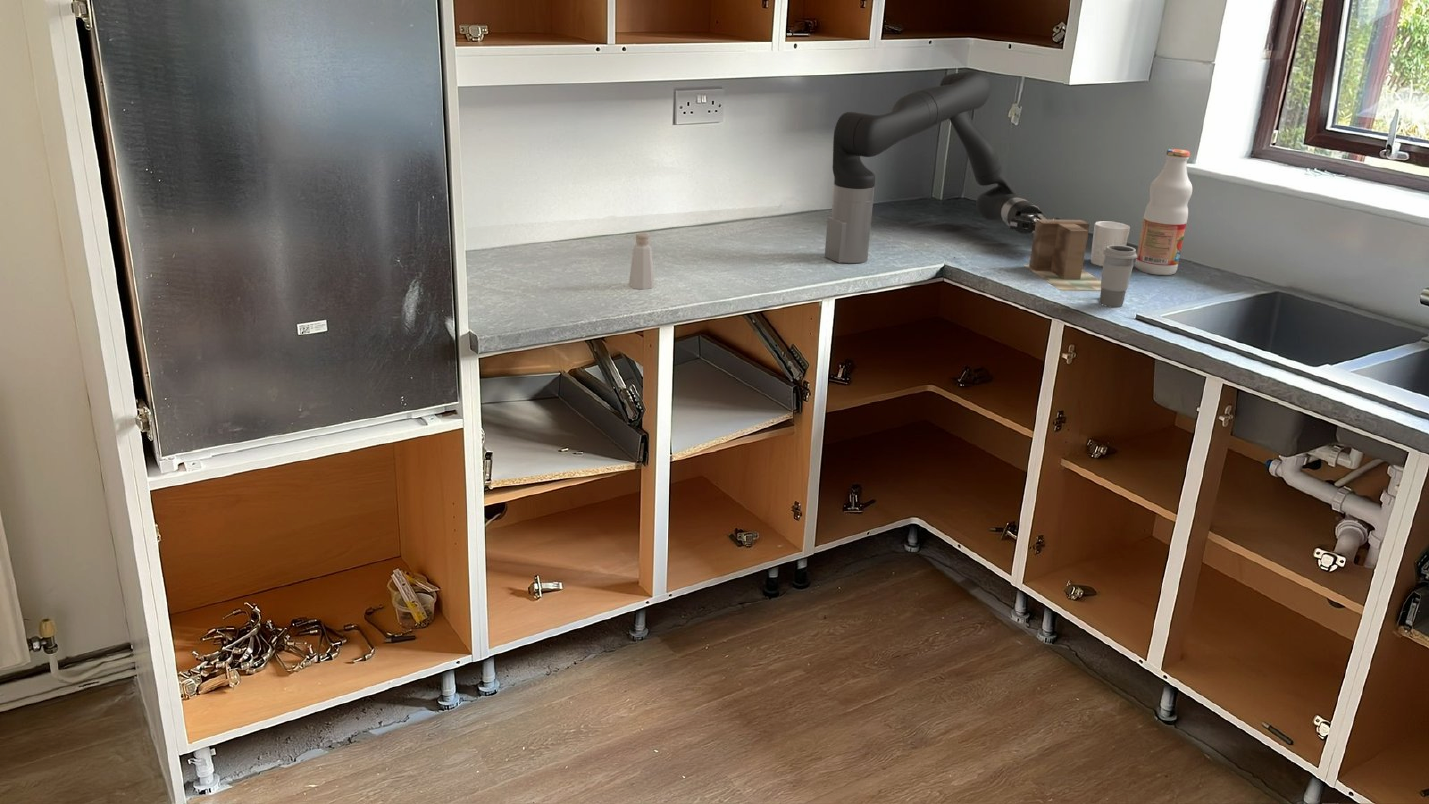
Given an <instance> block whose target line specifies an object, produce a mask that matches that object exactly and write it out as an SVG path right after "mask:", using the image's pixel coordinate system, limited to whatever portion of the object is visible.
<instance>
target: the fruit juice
mask: <svg viewBox="0 0 1429 804" xmlns="http://www.w3.org/2000/svg"><path fill="white" fill-rule="evenodd" d="M1190 155H1191V151H1189V150H1186V149H1179V148H1177V149H1176V148H1169V149H1168V150H1166V156H1165V157H1166V161H1165V163H1164V166H1163V168H1162V169H1161V171H1160V173H1158V175H1157V177H1155V179H1153V181H1152V182H1151V184H1150V187H1149V202H1148V203H1147V205H1146V206H1145V210H1144V215H1143V219H1142V220H1143V221H1142V224H1141V230H1140V234H1139V235H1140V236H1139V240H1138V246H1137V250H1136V254H1137V258H1135V260H1134V264H1135V265H1134V268H1135V269H1136V270H1139V271H1141V272H1142V273H1146V274H1149V275H1158V276H1171V275H1175V274H1176V272H1177V270H1178V267H1179V261H1180V258H1181V257H1180V256H1181V253H1182V248H1183V242H1184V237H1185V233H1186V232H1185V231H1186V228H1187V223H1188V217H1189V207H1188V204H1189V202H1190V199H1191V197H1192V195H1193V185H1192V183H1191V181H1190V180H1191V179H1190V178H1189V176H1188V168H1187V167H1188V166H1187V164H1188V163H1187V162H1188V160H1189V158H1190Z"/></svg>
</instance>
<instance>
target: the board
mask: <svg viewBox="0 0 1429 804" xmlns="http://www.w3.org/2000/svg"><path fill="white" fill-rule="evenodd" d="M1023 266H1024V267H1025V268H1026V269H1028V270H1030V271H1031V272H1033V273H1034V274H1035V275H1036V276H1038V277H1040V278H1041V279H1043V280H1044V281H1046V282H1047V283H1049V284H1051V285H1052V286H1053V287H1055V288H1056V289H1058V290H1059V291H1061V292H1101V279H1099V278H1097V277H1096V276H1094V275H1093V274H1091V273H1090V272H1088V271H1086V270H1084V269H1083V268H1082V273H1081V278H1080V279H1062V278H1061V277H1059V276H1058V275H1056V274H1054V273H1053V272H1051V271H1035V270H1034V269H1033V268H1031V267H1030V266H1029V264H1027V265H1026V264H1023Z"/></svg>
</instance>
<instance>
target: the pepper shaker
mask: <svg viewBox="0 0 1429 804" xmlns="http://www.w3.org/2000/svg"><path fill="white" fill-rule="evenodd" d="M635 238H636V239H635V245H634V246H633V248H632V254H631V255H632V256H631V263H630V270H629V271H630V273H629V279H628V280H629V281H628V282H629V283H628V286H629V287H630V288H632V289H634V290H649V289H652V288H653V287H655V286H656V285H655V283H656V282H655V274H654V272H655V271H654V263H653V249H652V246H651V245H650V244H649V243H650V234H648V233H646V232H638V233H636V234H635Z"/></svg>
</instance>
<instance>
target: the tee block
mask: <svg viewBox="0 0 1429 804" xmlns="http://www.w3.org/2000/svg"><path fill="white" fill-rule="evenodd" d="M1089 229H1090V223H1089V222H1087V221H1085V220H1083V219H1060V220H1052V219H1049V220H1041V219H1036V225H1035V231H1034V233H1033V239H1032V246H1031V251H1030V252H1031V253H1030V259H1029V264H1028V265H1029V266H1030V267H1031V268H1033V269H1034V270H1035V271H1051V272H1053V273H1054V274H1056V275H1058V276H1059V277H1061V278H1062V279H1080V278H1081V273H1082V269H1083V266H1084V262H1085V261H1084V260H1085V256H1086V248H1087V244H1088V243H1087V242H1088V237H1089Z"/></svg>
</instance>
